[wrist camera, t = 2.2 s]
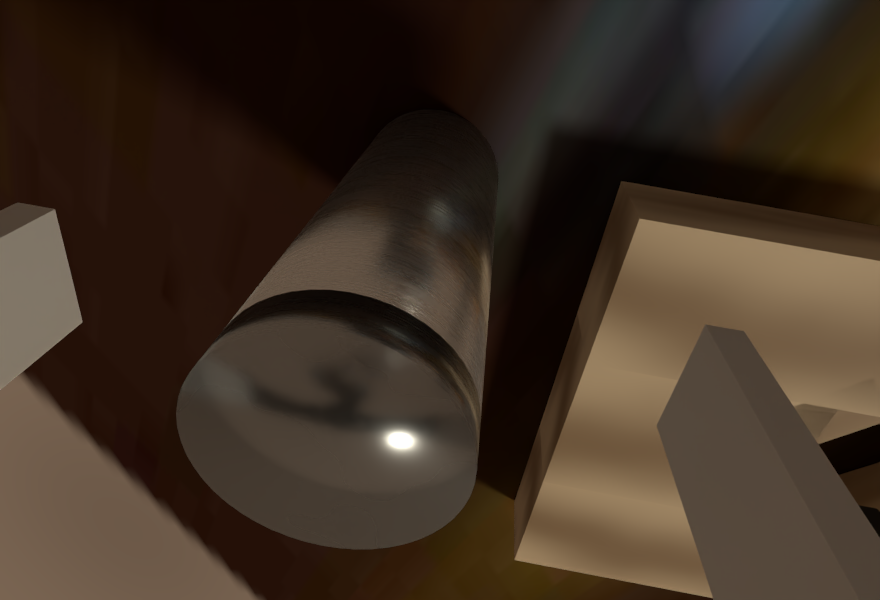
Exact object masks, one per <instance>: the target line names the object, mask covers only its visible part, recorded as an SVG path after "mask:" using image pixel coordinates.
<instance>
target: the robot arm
mask: <svg viewBox="0 0 880 600" xmlns="http://www.w3.org/2000/svg"><path fill="white" fill-rule="evenodd" d="M81 323H82V318H81V314H80V310H79V306H78V302H77V297H76V293H75V289H74V285H73V281H72V277H71V273H70V269H69V265H68V261H67V257H66V253H65V249H64V245H63V240H62V236H61V232H60V228H59V224H58V220H57V216H56V212H55V209H51V208H45V207H39V206H34V205H28V204H23V203H16V204H14V205H12V206H9V207H7V208H5V209H3V210H1V211H0V390H1V389H2V388H3V387H5V386H6V385H7V384H8V383H9V382H11V381H12V380H13V379H14V378H16V377H17V376H18V375H19V374H20V373H22V372H23V371H24V370H25V369H26V368H28V367H29V366H30V365H31V364H32V363H34V362H35V361H36V360H37V359H38V358H40V357H41V356H42V355H43V354H45V353H46V352H47V351H48V350H49V349H51V348H52V347H53V346H54V345H55V344H57V343H58V342H59V341H60V340H61V339H63V338H64V337H65V336H66V335H68V334H69V333H70V332H71V331H72V330H74V329H75V328H76V327H77V326H78V325H80V324H81ZM657 428H658V432H659V435H660V438H661V441H662V444H663V447H664V450H665V453H666V456H667V459H668V462H669V465H670V468H671V471H672V474H673V477H674V480H675V483H676V486H677V490H678V493H679V496H680V499H681V502H682V505H683V508H684V511H685V514H686V517H687V520H688V523H689V526H690V529H691V532H692V535H693V538H694V541H695V544H696V547H697V551H698V554H699V557H700V560H701V563H702V566H703V569H704V572H705V575H706V578H707V581H708V584H709V587H710V590H711V593H712V596H713V599H714V600H880V511H879V510H878V509H877V508H871V507H866V506H860V505H858V504H857V502H856V501H855V499H854V498H853V496H852V495H851V493H850V492H849V490H848V489H847V487H846V486H845V484H844V483H843V481H842V480H841V478H840V477H839V475H838V473H837V472H836V470H835V469H834V467H833V466H832V464H831V463H830V461H829V460H828V458H827V457H826V455H825V454H824V452H823V451H822V449H821V448H820V446H819V445H818V443H817V441H816V440H815V438H814V437H813V435H812V434H811V432H810V431H809V429H808V428H807V426H806V425H805V423H804V422H803V420H802V419H801V417H800V416H799V414H798V413H797V411H796V409H795V408H794V406H793V405H792V403H791V402H790V400H789V399H788V397H787V396H786V394H785V393H784V391H783V390H782V388H781V387H780V385H779V384H778V382H777V381H776V379H775V377H774V376H773V374H772V373H771V371H770V370H769V368H768V367H767V365H766V364H765V362H764V361H763V359H762V358H761V356H760V355H759V353H758V352H757V350H756V349H755V347H754V345H753V344H752V342H751V341H750V339H749V338H748V336H747V335H746V333H745V332H744V331H740V330H734V329H729V328H723V327H717V326H712V325H706V324H705V326H704V328H703V330H702V332H701V334H700V337H699V339H698V341H697V343H696V345H695V347H694V349H693V351H692V353H691V355H690V357H689V359H688V361H687V363H686V366H685V368H684V370H683V372H682V374H681V376H680V378H679V380H678V382H677V384H676V386H675V388H674V390H673V392H672V395H671V397H670V399H669V401H668V403H667V405H666V407H665V409H664V411H663V413H662V415H661V417H660V419H659V421H658V423H657Z"/></svg>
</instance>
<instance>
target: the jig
mask: <svg viewBox="0 0 880 600" xmlns="http://www.w3.org/2000/svg"><path fill="white" fill-rule="evenodd" d="M705 324H706V325H712V326H717V327H723V328H729V329H734V330H740V331H744V332H745V333H746V335H747V336H748V338H749V339H750V341H751V342H752V344H753V345H754V347H755V349H756V350H757V352H758V353H759V355H760V356H761V358H762V359H763V361H764V362H765V364H766V365H767V367H768V368H769V370H770V371H771V373H772V374H773V376H774V377H775V379H776V381H777V382H778V384H779V385H780V387H781V388H782V390H783V391H784V393H785V394H786V396H787V397H788V399H789V400H790V402H791V403H792V405H793V406H794V408H795V409H796V411H797V413H798V414H799V416H800V417H801V419H802V420H803V422H804V423H805V425H806V426H807V428H808V429H809V431H810V432H811V434H812V435H813V437H814V438H815V440H816V441H817V443H818V444H821V443H824V442H827V441H829V440H832V439H835V438H838V437H841V436H844V435H847V434H850V433H853V432H856V431H859V430H862V429H865V428H868V427H871V426H874V425H877V424H880V226H875V225H869V224H864V223H858V222H852V221H847V220H841V219H835V218H829V217H824V216H818V215H812V214H807V213H801V212H795V211H790V210H784V209H778V208H772V207H767V206H761V205H755V204H750V203H744V202H738V201H733V200H727V199H721V198H715V197H710V196H704V195H698V194H693V193H687V192H681V191H676V190H670V189H664V188H658V187H653V186H647V185H641V184H636V183H630V182H624V181H621V183H620V186H619V189H618V192H617V195H616V198H615V201H614V204H613V207H612V210H611V213H610V216H609V219H608V222H607V225H606V228H605V231H604V234H603V237H602V240H601V243H600V246H599V249H598V252H597V255H596V258H595V261H594V264H593V267H592V270H591V273H590V276H589V279H588V282H587V285H586V288H585V291H584V294H583V297H582V300H581V303H580V306H579V309H578V312H577V315H576V318H575V321H574V324H573V327H572V330H571V333H570V336H569V339H568V342H567V345H566V348H565V351H564V354H563V357H562V360H561V363H560V366H559V369H558V372H557V375H556V378H555V381H554V384H553V387H552V390H551V393H550V396H549V399H548V402H547V405H546V408H545V411H544V414H543V417H542V420H541V423H540V426H539V429H538V432H537V435H536V438H535V441H534V444H533V447H532V450H531V453H530V456H529V459H528V462H527V465H526V468H525V471H524V474H523V477H522V480H521V483H520V486H519V489H518V492H517V495H516V498H515V501H514V560H518V561H523V562H528V563H533V564H538V565H544V566H549V567H554V568H559V569H565V570H570V571H575V572H580V573H585V574H591V575H596V576H601V577H606V578H611V579H617V580H622V581H627V582H632V583H638V584H643V585H648V586H653V587H658V588H664V589H669V590H674V591H679V592H684V593H690V594H695V595H700V596H705V597H711V598H713V596H712V593H711V590H710V587H709V584H708V581H707V578H706V575H705V572H704V569H703V566H702V563H701V560H700V557H699V554H698V551H697V547H696V544H695V541H694V538H693V535H692V532H691V529H690V526H689V523H688V520H687V517H686V514H685V511H684V508H683V505H682V502H681V499H680V496H679V493H678V490H677V486H676V483H675V480H674V477H673V474H672V471H671V468H670V465H669V462H668V459H667V456H666V453H665V450H664V447H663V444H662V441H661V438H660V435H659V432H658V428H657V423H658V421H659V419H660V417H661V415H662V413H663V411H664V409H665V407H666V405H667V403H668V401H669V399H670V397H671V395H672V392H673V390H674V388H675V386H676V384H677V382H678V380H679V378H680V376H681V374H682V372H683V370H684V368H685V366H686V363H687V361H688V359H689V357H690V355H691V353H692V351H693V349H694V347H695V345H696V343H697V341H698V339H699V337H700V334H701V332H702V330H703V328H704V326H705ZM839 477H840V478H841V480H842V481H843V483H844V484H845V486H846V487H847V489H848V490H849V492H850V493H851V495H852V496H853V498H854V499H855V501H856V502H857V504H858V505H860V506H866V507H871V508H877V509H878V510H879V511H880V462H879V463H875V464H872V465H869V466H866V467H863V468H859V469H856V470H853V471H850V472H847V473H843V474H840V475H839Z"/></svg>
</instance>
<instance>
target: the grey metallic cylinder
mask: <svg viewBox="0 0 880 600" xmlns="http://www.w3.org/2000/svg"><path fill="white" fill-rule="evenodd" d="M497 192H498V167H497V162H496V158H495V155H494V152H493V150H492V148H491V146H490V144H489V143H488V141H487V139H486V138H485V137H484V135H483V134H482V133H481V132H480V131H479V130H478V129H477V128H476V127H475V126H474V125H473V124H471V123H470V122H469V121H467V120H465V119H464V118H462V117H460V116H458V115H456V114H453V113H450V112H447V111H443V110H436V109H421V110H416V111H411V112H408V113H405V114H403V115H401V116H399V117H397V118H395V119H394V120H392V121H391V122H389V123H388V124H387V125H386V126H385V127H384V128H383V129H382V130H381V131H380V132H379V134H378V135H377V136H376V137H375V139H374V140H373V141H372V142H371V144H370V145H369V146H368V147H367V149H366V150H365V151H364V153H363V154H362V155H361V156H360V158H359V159H358V160H357V161H356V163H355V164H354V165H353V166H352V168H351V169H350V170H349V172H348V173H347V174H346V175H345V177H344V178H343V179H342V180H341V182H340V183H339V184H338V185H337V187H336V188H335V189H334V191H333V192H332V193H331V194H330V196H329V197H328V198H327V199H326V201H325V202H324V203H323V204H322V206H321V207H320V208H319V210H318V211H317V212H316V213H315V215H314V216H313V217H312V218H311V220H310V221H309V222H308V223H307V225H306V226H305V227H304V229H303V230H302V231H301V232H300V234H299V235H298V236H297V237H296V239H295V240H294V241H293V242H292V244H291V245H290V246H289V248H288V249H287V250H286V251H285V253H284V254H283V255H282V256H281V258H280V259H279V260H278V261H277V263H276V264H275V265H274V267H273V268H272V269H271V270H270V272H269V273H268V274H267V275H266V277H265V278H264V279H263V280H262V282H261V283H260V284H259V286H258V287H257V288H256V289H255V291H254V292H253V293H252V294H251V296H250V297H249V298H248V299H247V301H246V302H245V303H244V305H243V306H242V307H241V308H240V310H239V311H238V312H237V313H236V315H235V316H234V317H233V318H232V320H231V321H230V322H229V323H228V325H227V326H226V327H225V329H224V330H223V331H222V332H221V334H220V335H219V336H218V337H217V339H216V340H215V341H214V342H213V344H212V345H211V346H210V348H209V349H208V350H207V351H206V353H205V354H204V355H203V356H202V358H201V359H200V360H199V361H198V363H197V364H196V365H195V367H194V368H193V369H192V370H191V372H190V373H189V374H188V376H187V378H186V380H185V382H184V383H183V385H182V388H181V391H180V394H179V397H178V402H177V411H176V416H177V428H178V432H179V436H180V440H181V443H182V445H183V447H184V450H185V452H186V455H187V456H188V458H189V460H190V461H191V463H192V465H193V466H194V468H195V469H196V471H197V472H198V473H199V475H200V476H201V477H202V479H203V480H204V481H205V482H206V483H207V484H208V485H209V486H210V487H211V488H212V490H213V491H214V492H215V493H217V494H218V495H219V496H220V497H221V498H222V499H223V500H225V501H226V502H227V503H228V504H230V505H231V506H232V507H234V508H235V509H236V510H238V511H239V512H241V513H242V514H244V515H245V516H247V517H249V518H250V519H252V520H254V521H255V522H257V523H259V524H261V525H263V526H265V527H267V528H269V529H271V530H274V531H276V532H279V533H281V534H284V535H286V536H289V537H292V538H295V539H299V540H302V541H305V542H309V543H313V544H318V545H322V546H329V547H335V548H345V549H377V548H388V547H393V546H398V545H403V544H406V543H410V542H413V541H416V540H419V539H421V538H423V537H426V536H428V535H430V534H432V533H434V532H436V531H437V530H439V529H440V528H442V527H444V526H445V525H446V524H447V523H449V522H450V521H451V520H452V519H453V518H455V516H456V515H457V514H458V513H459V512H460V511H461V510H462V508H463V507H464V505H465V504H466V502H467V501H468V499H469V497H470V495H471V492H472V490H473V487H474V484H475V479H476V473H477V463H478V449H479V436H480V422H481V408H482V395H483V381H484V368H485V354H486V341H487V327H488V314H489V300H490V287H491V273H492V260H493V246H494V233H495V219H496V206H497Z"/></svg>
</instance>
